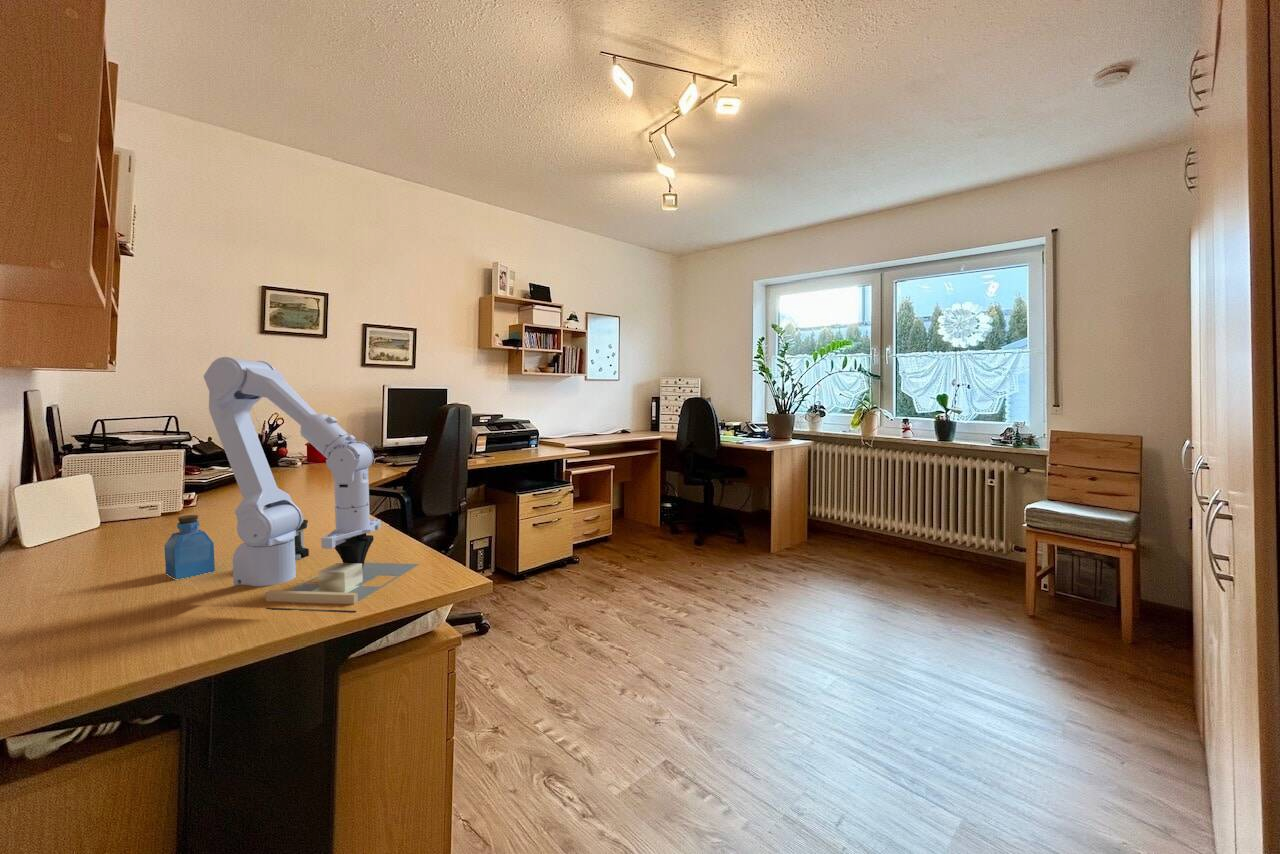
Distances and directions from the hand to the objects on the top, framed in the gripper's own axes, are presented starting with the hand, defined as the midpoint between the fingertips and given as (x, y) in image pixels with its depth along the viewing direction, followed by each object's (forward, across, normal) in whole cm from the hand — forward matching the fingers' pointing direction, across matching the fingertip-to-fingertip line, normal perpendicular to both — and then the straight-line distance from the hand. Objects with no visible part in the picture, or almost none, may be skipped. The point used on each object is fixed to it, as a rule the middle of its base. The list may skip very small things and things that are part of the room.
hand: (354, 575), depth 96 cm
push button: (+2, +12, +23) cm, 27 cm away
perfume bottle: (+2, +5, +40) cm, 40 cm away
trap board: (+2, -1, 0) cm, 2 cm away
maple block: (+1, -4, 0) cm, 4 cm away
